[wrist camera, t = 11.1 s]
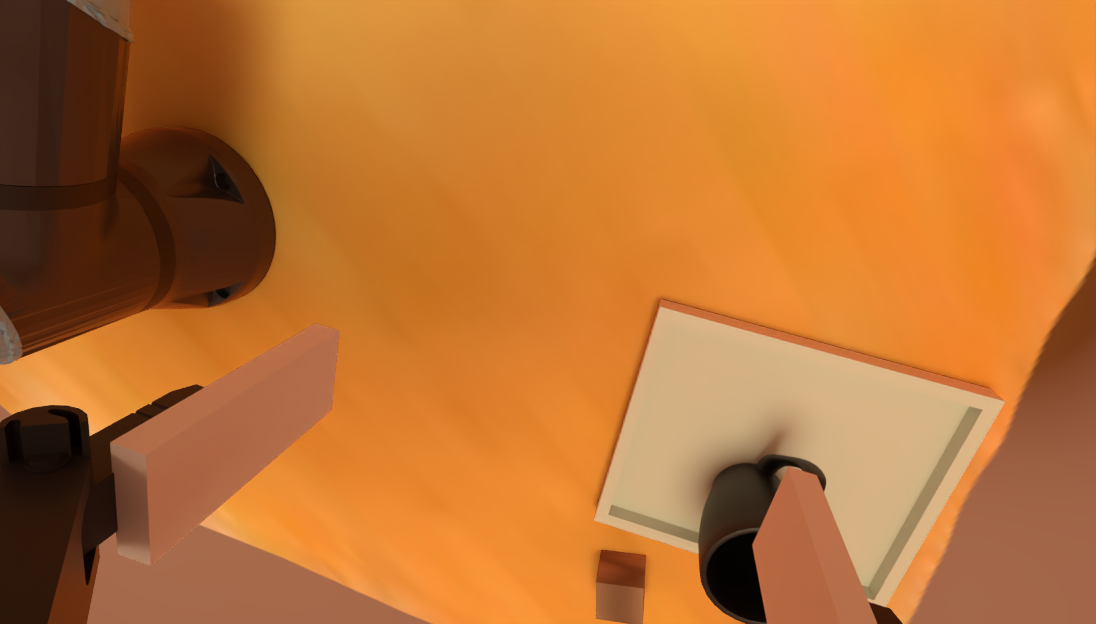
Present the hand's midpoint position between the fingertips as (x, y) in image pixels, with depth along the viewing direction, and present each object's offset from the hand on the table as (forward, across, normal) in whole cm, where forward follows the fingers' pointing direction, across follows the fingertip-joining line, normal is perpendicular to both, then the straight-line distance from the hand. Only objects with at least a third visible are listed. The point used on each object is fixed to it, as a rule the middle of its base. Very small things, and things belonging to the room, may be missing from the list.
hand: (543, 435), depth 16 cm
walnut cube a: (+29, +8, -30) cm, 42 cm away
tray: (+28, +16, -14) cm, 35 cm away
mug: (+28, +16, -16) cm, 36 cm away
